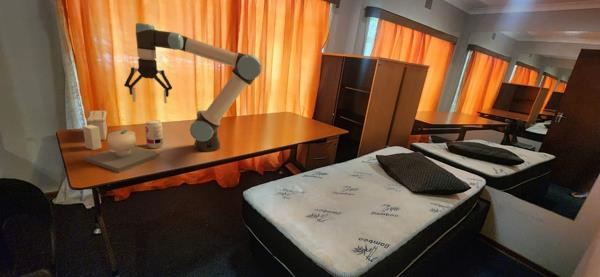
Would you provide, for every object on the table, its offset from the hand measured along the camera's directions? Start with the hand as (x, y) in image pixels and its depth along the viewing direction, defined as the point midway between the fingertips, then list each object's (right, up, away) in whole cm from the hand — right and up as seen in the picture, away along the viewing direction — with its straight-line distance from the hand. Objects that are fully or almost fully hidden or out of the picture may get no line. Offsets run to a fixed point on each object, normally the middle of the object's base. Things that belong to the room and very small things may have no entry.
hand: (150, 102), depth 121 cm
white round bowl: (-12, -22, -3) cm, 26 cm away
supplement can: (-9, -23, +19) cm, 31 cm away
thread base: (-13, -29, 0) cm, 32 cm away
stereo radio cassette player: (-45, -17, +22) cm, 53 cm away
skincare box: (-34, -24, +6) cm, 42 cm away
